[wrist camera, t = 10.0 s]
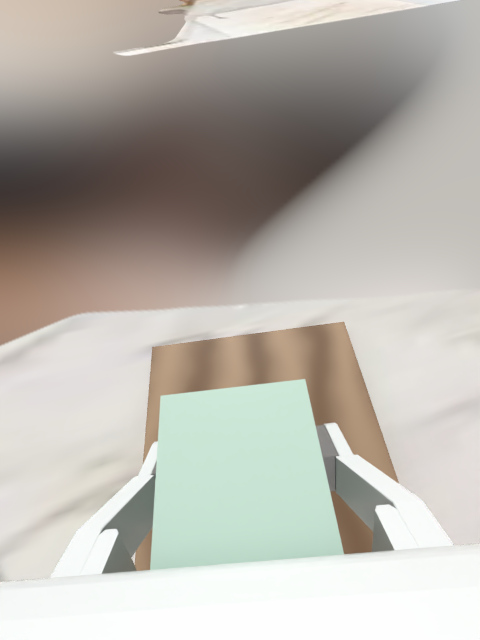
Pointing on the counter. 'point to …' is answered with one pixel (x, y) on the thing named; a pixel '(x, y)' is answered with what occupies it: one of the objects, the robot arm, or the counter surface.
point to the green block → (240, 478)
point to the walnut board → (269, 367)
